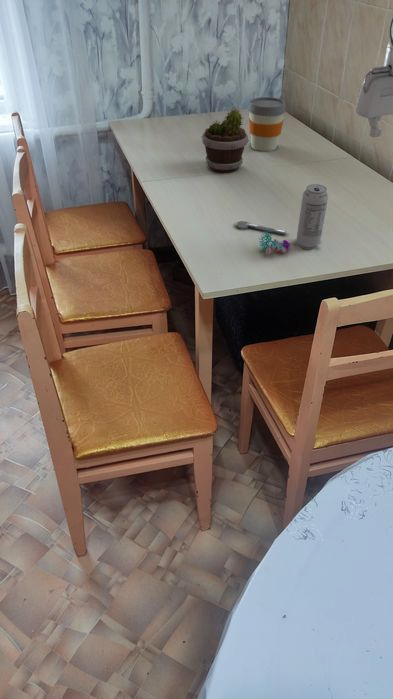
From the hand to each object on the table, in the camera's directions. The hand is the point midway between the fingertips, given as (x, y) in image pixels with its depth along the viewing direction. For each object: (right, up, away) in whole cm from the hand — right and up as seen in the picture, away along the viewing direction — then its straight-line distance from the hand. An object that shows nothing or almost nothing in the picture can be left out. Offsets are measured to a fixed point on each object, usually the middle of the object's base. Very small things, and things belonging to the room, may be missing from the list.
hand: (391, 133), depth 119 cm
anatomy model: (-24, -24, +16) cm, 37 cm away
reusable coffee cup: (-19, +25, +75) cm, 81 cm away
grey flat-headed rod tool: (-26, -16, +26) cm, 39 cm away
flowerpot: (-34, +12, +59) cm, 70 cm away
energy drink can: (-14, -21, +20) cm, 32 cm away
